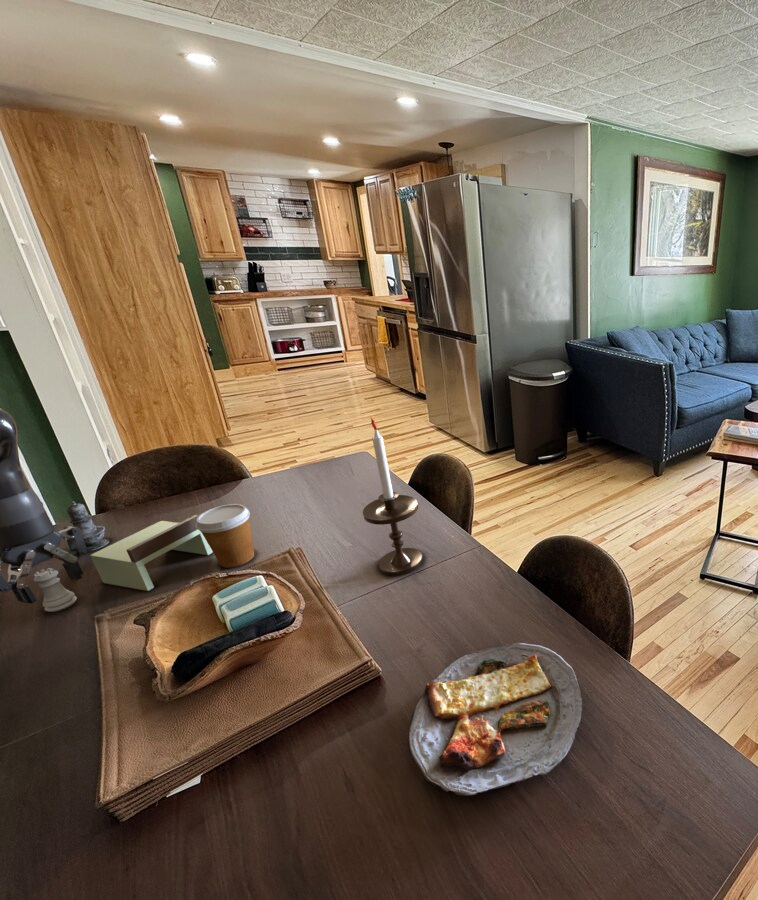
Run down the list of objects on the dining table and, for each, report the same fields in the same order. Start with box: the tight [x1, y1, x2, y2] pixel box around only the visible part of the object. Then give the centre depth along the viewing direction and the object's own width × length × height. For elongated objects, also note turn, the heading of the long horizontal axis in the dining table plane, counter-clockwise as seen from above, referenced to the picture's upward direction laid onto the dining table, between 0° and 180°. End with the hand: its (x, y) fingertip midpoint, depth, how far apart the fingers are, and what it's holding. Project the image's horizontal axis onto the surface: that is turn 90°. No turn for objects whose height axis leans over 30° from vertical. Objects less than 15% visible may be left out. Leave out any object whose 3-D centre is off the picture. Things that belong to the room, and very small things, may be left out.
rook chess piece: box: [33, 567, 78, 613], centre depth 92 cm, size 4×4×8 cm
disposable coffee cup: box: [196, 503, 255, 568], centre depth 105 cm, size 10×10×12 cm
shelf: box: [89, 514, 214, 592], centre depth 103 cm, size 12×14×10 cm
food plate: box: [407, 641, 583, 797], centre depth 71 cm, size 25×23×4 cm
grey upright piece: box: [66, 500, 110, 553], centre depth 110 cm, size 6×6×12 cm
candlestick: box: [362, 416, 423, 577], centre depth 100 cm, size 11×11×35 cm
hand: (54, 589), depth 92 cm, fingers open, 6 cm apart
